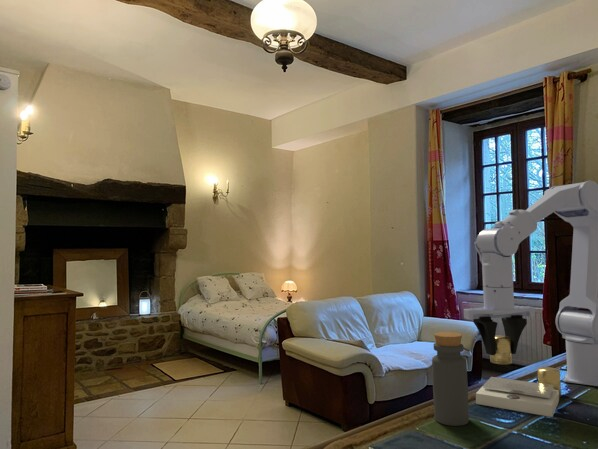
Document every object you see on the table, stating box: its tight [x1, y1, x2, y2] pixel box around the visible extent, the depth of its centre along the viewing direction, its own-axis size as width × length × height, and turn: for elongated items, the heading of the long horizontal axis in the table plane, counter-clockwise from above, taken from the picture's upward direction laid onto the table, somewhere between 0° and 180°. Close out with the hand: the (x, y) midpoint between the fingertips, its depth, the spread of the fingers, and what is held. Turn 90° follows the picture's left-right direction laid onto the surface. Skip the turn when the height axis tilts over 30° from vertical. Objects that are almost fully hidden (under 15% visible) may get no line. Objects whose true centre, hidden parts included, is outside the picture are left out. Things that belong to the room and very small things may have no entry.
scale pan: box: [482, 376, 554, 398], centre depth 89 cm, size 7×12×1 cm, turn 54°
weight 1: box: [489, 334, 513, 365], centre depth 92 cm, size 4×4×5 cm
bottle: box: [431, 331, 470, 427], centre depth 80 cm, size 6×6×15 cm
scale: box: [475, 385, 560, 418], centre depth 88 cm, size 10×13×2 cm
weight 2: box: [537, 366, 562, 398], centre depth 92 cm, size 4×4×5 cm
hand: (501, 353), depth 92 cm, fingers closed on weight 1, 4 cm apart
